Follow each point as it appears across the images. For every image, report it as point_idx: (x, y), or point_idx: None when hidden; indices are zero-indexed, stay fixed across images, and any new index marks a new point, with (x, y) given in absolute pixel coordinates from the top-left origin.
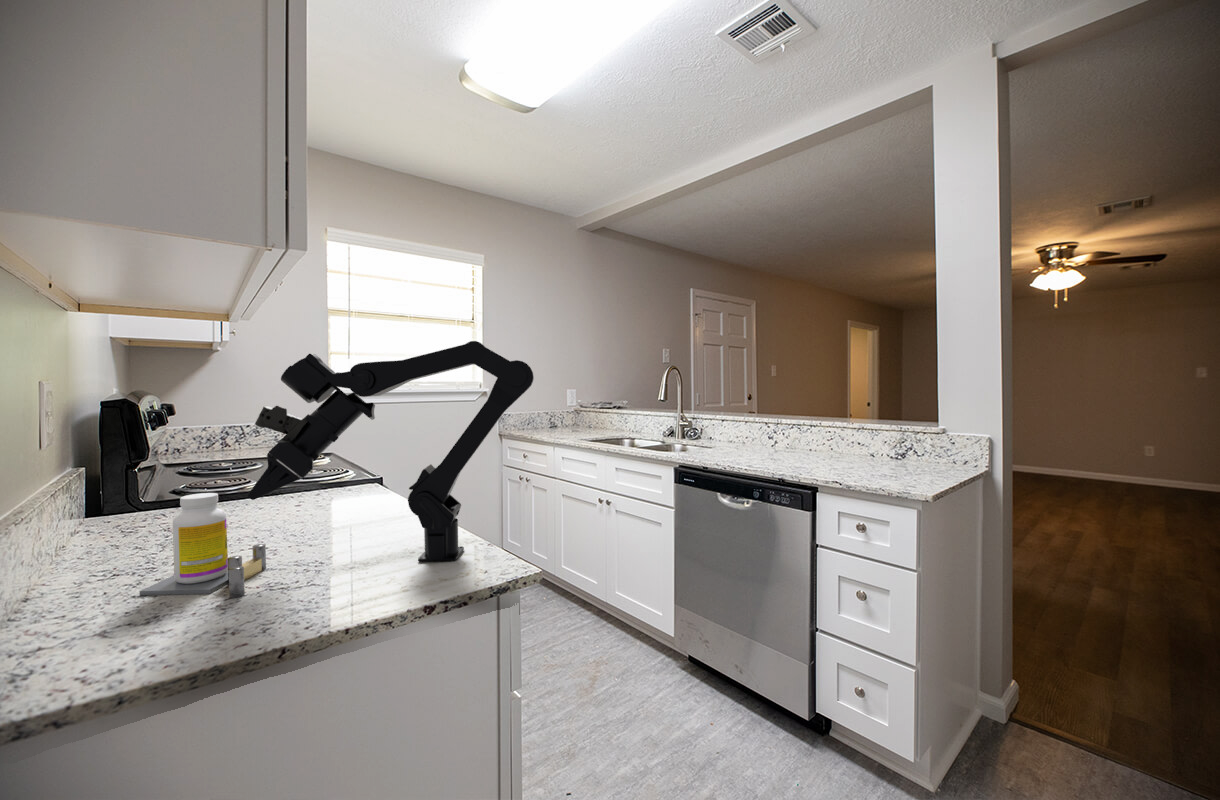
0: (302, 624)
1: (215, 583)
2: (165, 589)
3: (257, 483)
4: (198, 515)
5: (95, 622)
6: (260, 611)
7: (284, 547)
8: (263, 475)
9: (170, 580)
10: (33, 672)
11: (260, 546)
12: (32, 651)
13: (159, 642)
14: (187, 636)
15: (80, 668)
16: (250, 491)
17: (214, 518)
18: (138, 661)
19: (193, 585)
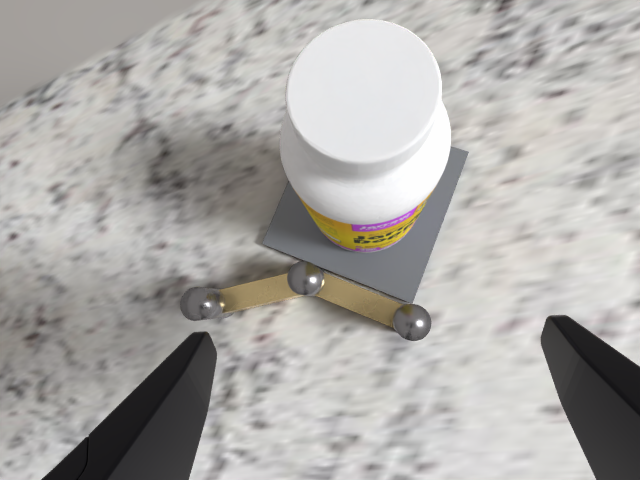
0: (5, 453)
1: (302, 244)
2: None
3: (127, 404)
4: (291, 142)
5: (202, 96)
6: (109, 366)
7: (628, 356)
8: (58, 470)
9: None
10: (44, 103)
11: (398, 328)
12: (121, 64)
13: (58, 229)
14: (59, 264)
15: (24, 155)
16: (175, 351)
17: (303, 197)
18: (4, 223)
19: None
